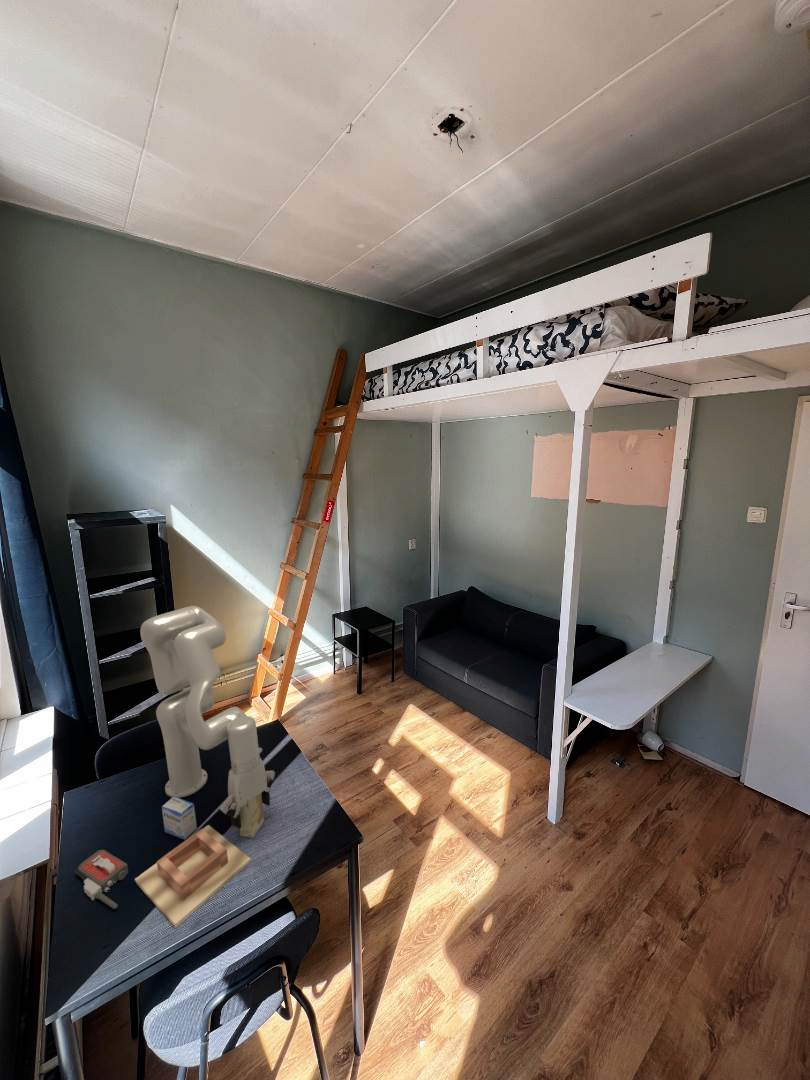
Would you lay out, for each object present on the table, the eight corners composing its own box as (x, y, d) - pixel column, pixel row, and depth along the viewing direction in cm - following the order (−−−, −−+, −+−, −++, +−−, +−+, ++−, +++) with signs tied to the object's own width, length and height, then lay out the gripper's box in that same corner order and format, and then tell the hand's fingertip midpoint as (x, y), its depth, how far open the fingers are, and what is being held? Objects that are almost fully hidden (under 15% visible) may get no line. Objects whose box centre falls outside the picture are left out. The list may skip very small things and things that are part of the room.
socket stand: (135, 882, 110) (132, 865, 109) (208, 827, 126) (206, 812, 125) (175, 928, 99) (173, 909, 98) (250, 861, 115) (249, 845, 114)
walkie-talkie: (66, 882, 111) (112, 916, 102) (63, 868, 111) (109, 900, 102) (102, 854, 119) (148, 884, 110) (99, 841, 118) (146, 869, 109)
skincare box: (253, 838, 122) (249, 800, 120) (239, 836, 123) (235, 798, 121) (265, 820, 128) (261, 783, 126) (251, 818, 129) (247, 782, 127)
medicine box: (164, 832, 125) (160, 806, 124) (177, 821, 129) (174, 795, 128) (184, 840, 122) (181, 814, 121) (197, 828, 126) (194, 802, 125)
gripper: (262, 740, 131) (268, 790, 134) (209, 774, 117) (216, 829, 120) (279, 748, 127) (284, 800, 130) (225, 785, 113) (232, 842, 116)
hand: (251, 814), depth 125 cm, fingers open, 9 cm apart
